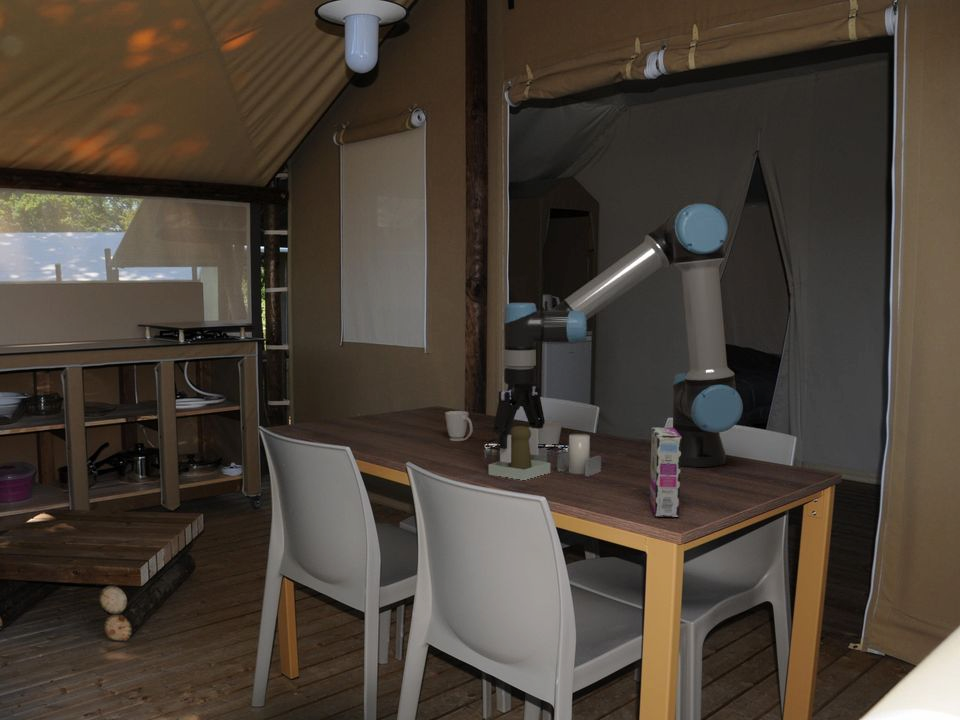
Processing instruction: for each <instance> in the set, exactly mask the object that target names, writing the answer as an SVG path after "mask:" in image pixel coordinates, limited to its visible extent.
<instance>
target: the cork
mask: <svg viewBox="0 0 960 720" xmlns="http://www.w3.org/2000/svg"><path fill="white" fill-rule="evenodd" d="M528 427H529V426H524V425H515V426H511V429H510V432H509V435H511V462H510V463H509V464H508V467H511V468H517V469H523V470H525V469H528V468H531V467H532V465H531V457H530V448H529V439H530V437H531V431H530V429H529V428H528Z"/></svg>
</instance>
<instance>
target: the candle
mask: <svg viewBox="0 0 960 720" xmlns="http://www.w3.org/2000/svg"><path fill="white" fill-rule="evenodd" d="M562 425H563V424H562V423H560V422H554V421H545V423H544V424H543V428H539V442H538V444H546V445H552V444H558V445H559V443H560V438H561V437H560V436H561V432H562V427H563V426H562Z"/></svg>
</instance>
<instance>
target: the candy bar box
mask: <svg viewBox="0 0 960 720" xmlns="http://www.w3.org/2000/svg"><path fill="white" fill-rule="evenodd" d="M681 440H682V437H681V436H680V435H679V433H678V432H677V431H676V430H675V429H674V428H673V427H651V447H650V448H651V449H650V476H649V477H650V482H649V505H650V508H651V507H652V508H651V509H652V513H653V512H654V513H653V515H654V514H655V515H654V517H655V516H663V517H679V518H680V500H681V499H680V492H681V466H682V465H681Z"/></svg>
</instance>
